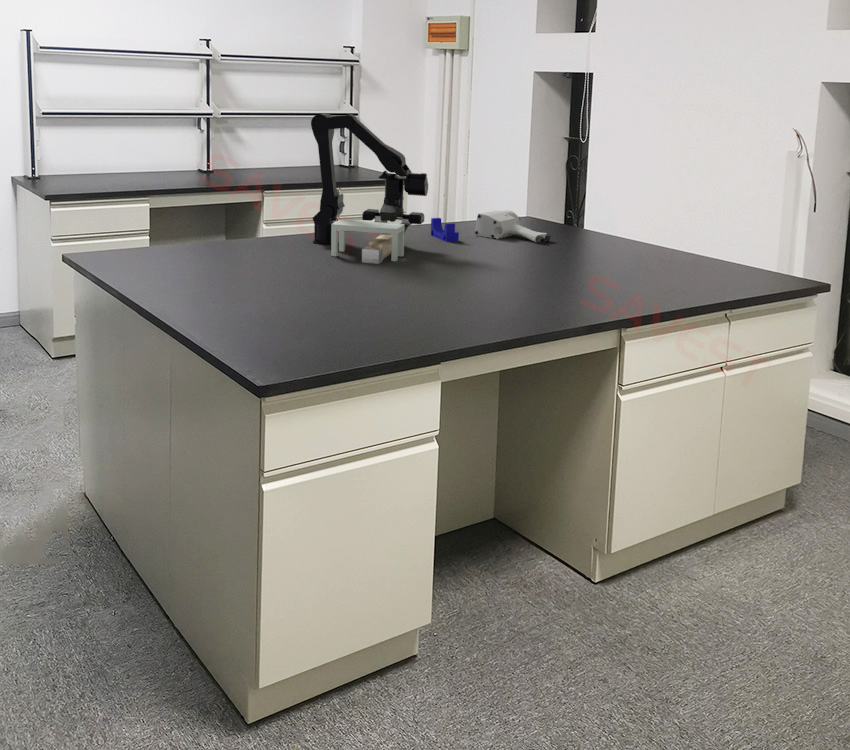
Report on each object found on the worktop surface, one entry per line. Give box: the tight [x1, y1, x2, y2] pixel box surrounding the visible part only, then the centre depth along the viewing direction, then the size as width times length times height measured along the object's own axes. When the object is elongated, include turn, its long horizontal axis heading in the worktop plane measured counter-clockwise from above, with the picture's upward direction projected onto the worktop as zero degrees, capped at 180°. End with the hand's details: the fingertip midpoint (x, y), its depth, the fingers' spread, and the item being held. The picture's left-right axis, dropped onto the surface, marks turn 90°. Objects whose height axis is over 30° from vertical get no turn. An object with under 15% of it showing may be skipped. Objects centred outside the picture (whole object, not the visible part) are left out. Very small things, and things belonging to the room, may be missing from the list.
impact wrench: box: [474, 210, 552, 245], centre depth 337 cm, size 8×23×25 cm
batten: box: [368, 233, 392, 260], centre depth 302 cm, size 4×25×5 cm, turn 168°
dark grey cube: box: [361, 245, 384, 265], centre depth 289 cm, size 5×5×4 cm
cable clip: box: [430, 217, 460, 243], centre depth 328 cm, size 12×4×6 cm, turn 25°
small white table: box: [330, 219, 405, 262], centre depth 295 cm, size 20×9×10 cm, turn 77°
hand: (392, 243), depth 311 cm, fingers closed on batten, 4 cm apart
